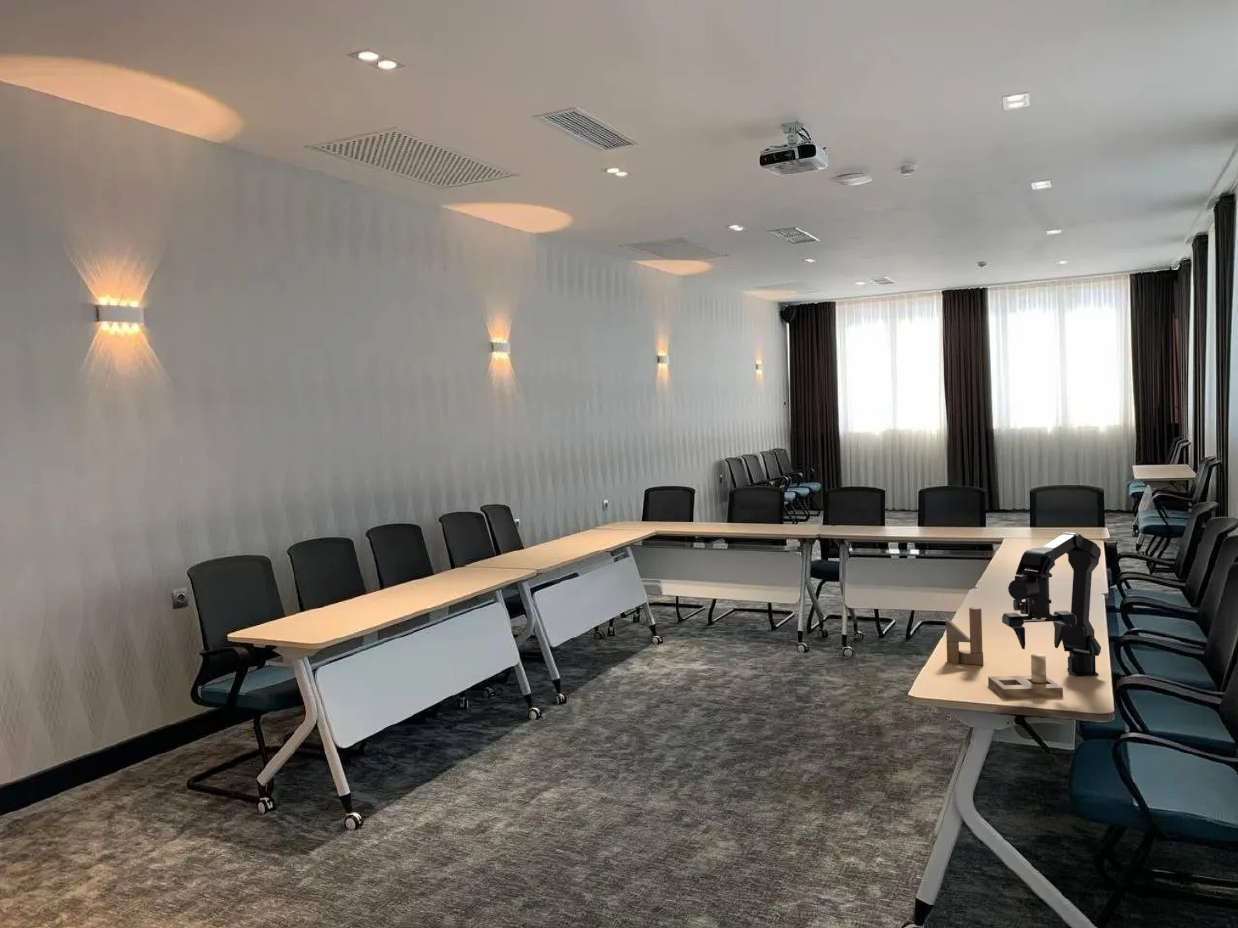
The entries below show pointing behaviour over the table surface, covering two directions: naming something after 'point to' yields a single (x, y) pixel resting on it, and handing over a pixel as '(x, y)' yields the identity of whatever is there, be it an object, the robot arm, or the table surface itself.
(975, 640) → the wooden block structure
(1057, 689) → the board
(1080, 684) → the table surface
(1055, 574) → the table surface
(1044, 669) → the dowel
